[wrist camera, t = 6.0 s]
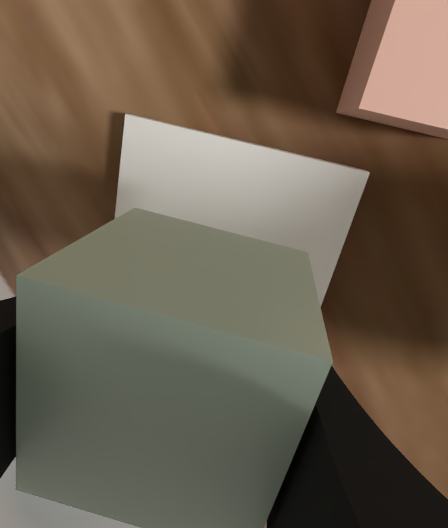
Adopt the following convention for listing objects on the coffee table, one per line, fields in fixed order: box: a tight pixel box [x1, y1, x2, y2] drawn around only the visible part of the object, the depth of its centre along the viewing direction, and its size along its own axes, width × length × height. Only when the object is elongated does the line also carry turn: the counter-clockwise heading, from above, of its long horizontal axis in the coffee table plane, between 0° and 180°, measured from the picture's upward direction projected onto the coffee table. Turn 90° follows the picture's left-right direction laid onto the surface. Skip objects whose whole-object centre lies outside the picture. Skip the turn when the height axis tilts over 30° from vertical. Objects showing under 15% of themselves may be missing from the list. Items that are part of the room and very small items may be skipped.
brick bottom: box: [16, 208, 333, 528], centre depth 9 cm, size 5×5×5 cm
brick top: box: [336, 0, 448, 139], centre depth 12 cm, size 5×5×5 cm
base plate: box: [115, 114, 370, 307], centre depth 18 cm, size 11×11×1 cm
